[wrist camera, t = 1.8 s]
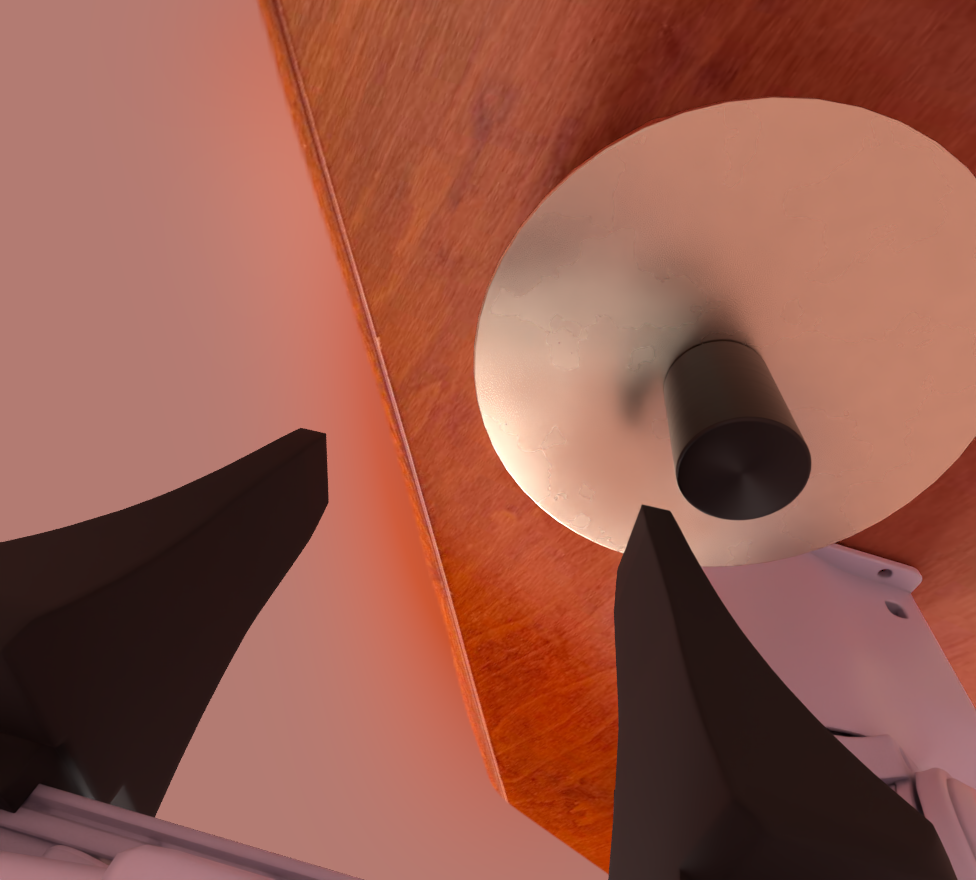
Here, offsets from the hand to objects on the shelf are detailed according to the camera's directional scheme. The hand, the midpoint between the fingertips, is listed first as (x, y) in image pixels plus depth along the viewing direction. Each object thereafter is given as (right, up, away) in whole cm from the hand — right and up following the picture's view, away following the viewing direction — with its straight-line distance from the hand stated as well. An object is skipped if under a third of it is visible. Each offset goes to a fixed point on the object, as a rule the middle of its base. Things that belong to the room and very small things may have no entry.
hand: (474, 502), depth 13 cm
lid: (+6, +3, +1) cm, 7 cm away
